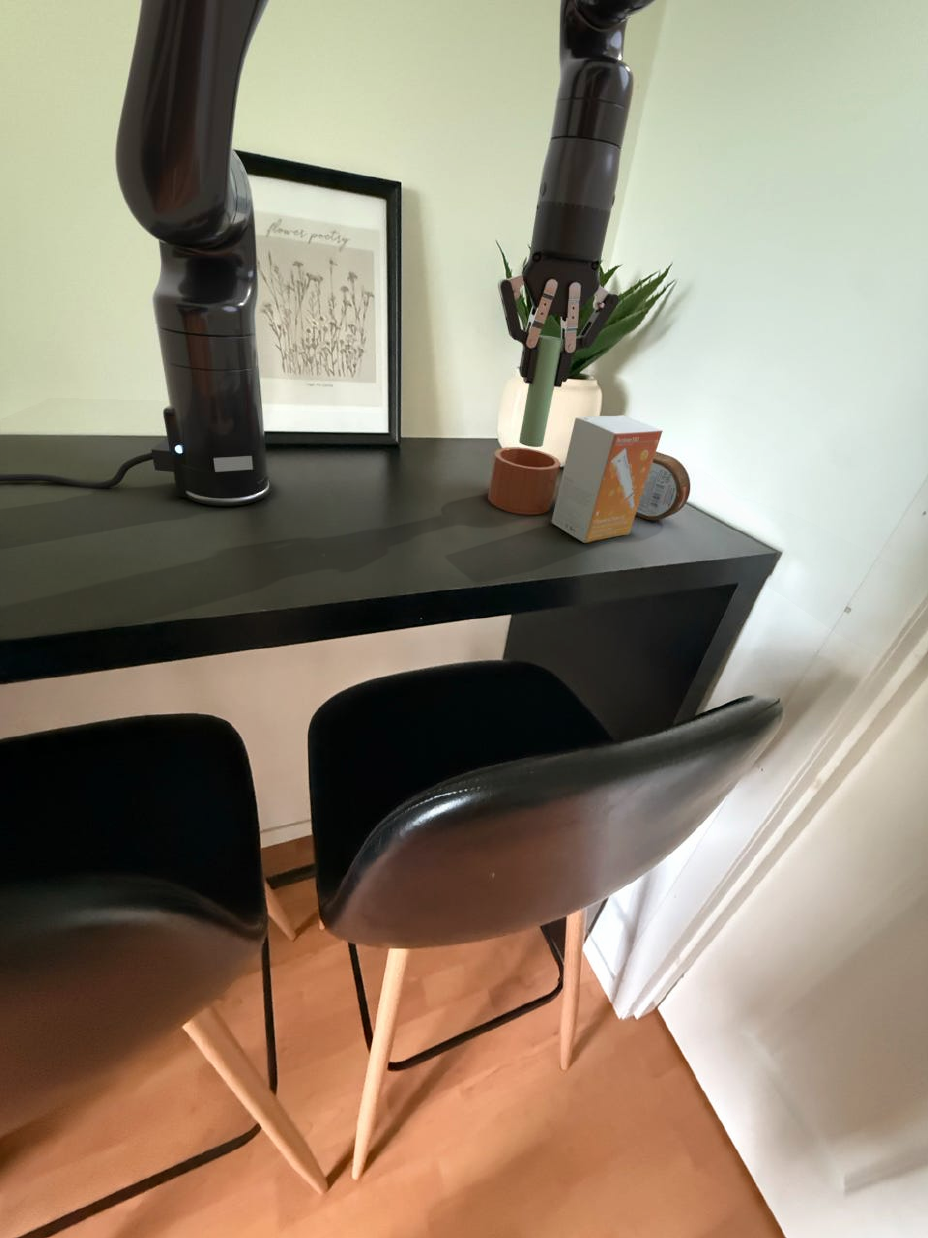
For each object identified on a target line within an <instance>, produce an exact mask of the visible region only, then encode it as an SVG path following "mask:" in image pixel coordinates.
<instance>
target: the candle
mask: <svg viewBox="0 0 928 1238" xmlns="http://www.w3.org/2000/svg"><path fill="white" fill-rule="evenodd" d="M562 344H563V339H561V337H556V336H551V335H542V334H540V335H539V338H538V341H537V344H536V348H535V349H537V356H536V362H535V367H534V373H533V379H532V383H531V384H528V387H527V392H526V398H525V399H526V400H525V405H524V410H523V417H522V423H521V427H520V434H519V440H518V441H519V443H520V444H521V445H523V446H526V447H530V448H540V447H543V446H544V440H545V435H546V431H547V426H548V422H549V421H548V420H549V415H550V410H551V405H552V400H553V395H554V390H555V386H554V385H555V380H556V375H557V370H558V365H559V359H560V354H561V349H562Z"/></svg>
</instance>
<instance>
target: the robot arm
mask: <svg viewBox="0 0 928 1238" xmlns="http://www.w3.org/2000/svg"><path fill="white" fill-rule="evenodd" d="M270 1H271V0H140V8H139V14H138V23H137V26H136V27H137V29H136V34H135V39H134V46H133V51H132V56H131V61H130V67H129V71H128V76H127V81H126V87H125V91H124V96H123V100H122V102H123V103H122V106H121V109H120V110H121V111H120V115H119V121H118V127H117V132H116V138H115V139H116V140H115V147H114V148H115V149H114V165H115V173H116V177H117V179H116V180H117V182H118V187H119V190H120V192H121V195H122V199H123V200H124V203H125V204H126V206H127V208H128V210H129V212H130V213H131V215H132V217H133V218H134V219H135V221H136V222H137V223H138V224H139V225H140V227H141V228H142V229H143V230H144V231H146V232H147V234H149V235H150V236H152V238H154V239H156V240H157V241H158V248H159V249H158V250H159V259H160V271H159V276H158V277H159V278H158V281H157V284H156V286H155V288H154V290H153V293H152V298H151V301H152V309H153V316H154V321H155V326H156V332H157V333H156V334H157V338H158V343H159V344H158V345H159V350H160V355H161V356H160V357H161V362H162V367H163V373H164V380H165V385H166V391H167V398H168V404H169V405H167V406H166V407H165V408H163V412H162V415H163V421H164V426H165V432H166V437H165V438H164V439H163V440H161V441H160V442H159V443H157V444H156V445H155V446H154V447H152V449H150V452H148V453H144V454H141V455H137V456H135V457H132V458H130V459H128V460H127V461H125V462H124V463H122V464H121V465H120V467H119V468H118V470H117V471H116V473H115V475H114V476H113V477H112V478H110V479H108V480H104V481H96V482H93V481H84V480H78V479H73V478H69V477H63V476H60V475H54V474H45V473H44V474H43V473H0V482H22V481H23V482H47V483H55V484H60V485H66V486H70V487H77V488H78V487H80V488H86V489H87V488H88V489H108V488H111V487H115V486H117V485H118V484H119V483H121V482H122V480H123V479H124V478H125V475H126V474H127V472H128V471H129V470H130V469H132V468H134V467H135V466H137V465H140V464H143V463H145V462H148V461H152V463H153V467H154V470H155V471H159V472H169V473H173V478H174V482H175V483H174V484H175V490H176V496H177V497H178V498H184V499H185V498H186V499H188V500H190V501H192V502H195V503H198V504H203V505H207V506H216V507H217V506H218V507H235V506H243V505H248V504H252V503H256V502H258V501H261V500H264V499H265V498H266V497H268V495H269V494H270V482H269V473H268V463H267V450H266V441H265V440H266V439H265V427H264V426H265V425H264V413H263V400H262V389H261V387H262V386H261V376H260V364H259V351H258V338H257V337H258V336H257V325H256V310H257V304H258V298H259V272H258V254H257V253H258V251H257V235H256V233H257V232H256V231H257V230H256V217H255V207H254V198H253V192H252V187H251V184H250V180H249V176H248V174H247V171H246V169H245V166H244V164H243V162H242V160H241V159H240V157H239V156H238V154H237V153H236V151H235V150H234V149H233V137H234V126H235V118H236V110H237V103H238V102H237V101H238V95H239V89H240V82H241V78H242V73H243V69H244V65H245V61H246V58H247V56H248V55H247V54H248V52H249V50H250V46H251V44H252V41H253V39H254V36H255V34H256V31H257V30H258V27H259V24H260V22H261V21H262V18H263V16H264V13H265V12H266V9H267V7H268V5H269V4H270ZM656 1H657V0H560V3H559V25H558V28H559V31H558V67H559V68H558V70H559V81H558V87H557V92H556V97H555V104H554V109H553V114H552V115H553V116H552V121H551V129H550V136H549V141H548V146H547V151H546V154H545V157H544V162H543V167H542V172H541V177H540V183H539V189H538V197H537V203H536V209H535V215H534V216H535V217H534V223H533V229H532V237H531V242H530V248H529V255H528V259H527V262H526V264H525V265H524V267H523V269H522V270H521V274H518V275H514V276H513V277H509V278H502V279H501V278H500V279H499V281H498V283H497V288H498V293H499V297H500V301H501V305H502V310H503V313H504V318H505V322H506V327H507V331H508V335H509V336H510V337H511V338H512V339H513V340H514V341H517V342H519V343H520V344H521V345H522V351H521V357H520V362H519V363H520V364H519V369H518V370H519V371H518V372H519V376H520V377H521V378H522V380H523V381H522V382H524V384H526V385H527V384H528V385H529V384H531V383H532V379H533V373H534V367H535V362H536V356H537V349H535V348H536V344H537V341H538V338H539V335H541V332H542V329H543V328H544V326H545V324H546V320H547V317H549V316H558V317H560V338H561V339H563V344H562V349H561V354H560V359H559V365H558V370H557V375H556V380H555V385H554V388H561V387H562V385H563V383H567V381H568V379H569V376H570V371H571V367H572V361H573V357H574V354H575V353H576V352H577V351H580V350H583V349H590V348H591V347H592V345H593V344H594V342H595V341H596V339H597V338H598V337H599V335H600V333H601V332H602V330H603V328H604V327H605V325H606V324H607V323H608V321H609V319H610V318H611V316H612V314H613V313H614V311H615V309H616V308H617V306H618V305H619V303H620V297H619V295H618V294H615V293H612V292H610V291H609V290H607V289H606V288H604V287H603V286H602V285H601V278H600V274H599V273H600V271H599V270H600V265H601V259H602V256H603V252H604V246H605V241H606V236H607V233H608V228H609V222H610V217H611V214H612V209H613V207H614V204H615V200H616V189H617V187H618V186H617V185H618V179H619V172H620V162H621V154H622V149H623V144H624V139H625V136H626V130H627V125H628V121H629V117H630V112H631V105H632V100H633V96H634V95H633V94H634V88H635V87H634V86H635V78H634V77H635V76H634V72H633V70H632V69H631V67H630V65H628V63H626V62H625V61H624V52H625V51H624V49H625V38H626V31H627V25H628V22H629V18H631V17H634V16H635V15H638V14H639V13H641V12H643V11H644V10H646V9H648V8H649V7H651V6H652V5H653V4H654V3H655V2H656ZM522 286H524V288H525V291H526V293H527V296H528V298H529V300H530V303H531V305H532V307H531V309H530V313H529V315H528V319H527V325H526V327H525V330H524V328H523V329H522V325H521V319H520V316H519V312H518V311H519V310H518V306H517V302H516V301H517V300H518V299H519V298H520V297H521V288H522ZM593 297H594V299H593V302H592V308H593V309H594V310H593V312H592V313H591V315H590V316H589V318H588V319H587V321H586V323H585V324H584V326H583V327H582V329H581V331H580V332H579V334H578V335H577V332H578V328H579V316H580V315H579V313H580V311H581V310H582V309H583V308H584V307H585V305H586V304H587V303H588V302H589V301H590V300H591V299H592V298H593Z"/></svg>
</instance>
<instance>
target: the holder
mask: <svg viewBox="0 0 928 1238" xmlns="http://www.w3.org/2000/svg"><path fill="white" fill-rule="evenodd" d="M492 460H493V461H492V467H491V474H490V480H489V485H488V486H489V487H488V496H487V499H488V501H489V503H491V505H493V506H495V507H496V508H498V509H500V510H503V511H505V512H507V513H513V514H517V515H523V516H524V515H526V516H535V515H542V514H546V513H548V512H549V511H550V510H551V508H552V504H553V501H554V496H555V492H556V486H557V482H558V477H559V473H560V468H561V464H562V463H561V461H560V460H559V458H557V457H555V456H554V455H552V454H550V453H547V452H545V451H542V450H539V449H533V448H528V447H520V446H510V447H507V446H505V447H502V448H498V449H497V450H496V451H494V453H493V459H492Z"/></svg>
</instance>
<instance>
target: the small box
mask: <svg viewBox="0 0 928 1238" xmlns="http://www.w3.org/2000/svg"><path fill="white" fill-rule="evenodd" d="M663 431H664V430H662V429H660V428H658V427H655V426H652V425H650V424H647V423H645V422H642V421H640V420H637V419H635V418H632V417H629V416H627V415H625V414H621V415H596V416H587V417H586V416H585V417H575V419H574V423H573V427H572V431H571V436H570V441H569V444H568V449H567V453H566V457H565V462H564V465H563V471H562V474H561V479H560V483H559V487H558V491H557V492H558V493H557V496H556V499H555V500H556V501H555V505H554V510H553V513H552V517H551V522H550V523H551V524H552V525H554V526H556V527H558V528H559V529H560V530H562V531H564V532H566V533H567V534H569V535H570V536H571V537H574V538H575V539H577V540H579V541H580V542H582V543H583V544H587V543H591V542H594V541H595V542H596V541H600V540H605V539H610V538H615V537H621V536H627V535H629V534H630V533H631V530H632V527H633V523H634V521H635V517H636V515H635V514H636V512H637V508H638V505H639V502H640V499H641V496H642V493H643V490H644V487H645V484H646V481H647V478H648V475H649V471H650V468H651V465H652V462H653V459H654V456H655V453H656V451H657V449H658V447H659V443H660V441H661V438H662V434H663Z"/></svg>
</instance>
